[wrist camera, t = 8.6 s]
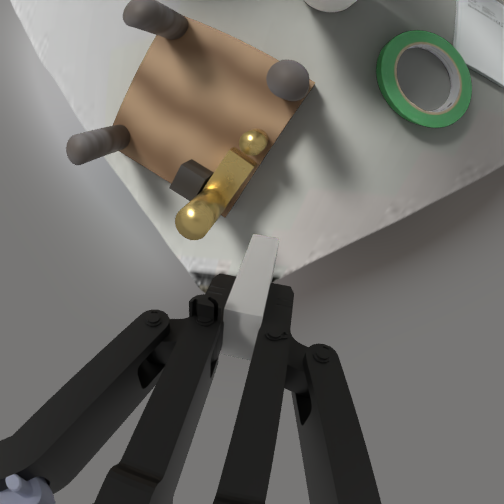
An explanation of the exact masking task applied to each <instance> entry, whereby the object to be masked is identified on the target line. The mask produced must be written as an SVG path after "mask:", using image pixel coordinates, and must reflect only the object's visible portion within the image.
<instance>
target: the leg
mask: <svg viewBox="0 0 504 504" xmlns="http://www.w3.org/2000/svg"><path fill="white" fill-rule="evenodd" d="M268 140H269V139H268V135H267V134H266V132H265V131H263V130H261V129H252V130H250V131H248V132H245V133H244V134H243V135H242V136H241V137H240V140H239V146H240V149H241V150H242V152H241V151H240V150H238V149H237V148H235V147H233V148H231V149H230V150H229V151H228V153H227V154H226V155H225V157H224V158H223V160H222V161H221V163H220V164H219V166H218V167H217V169H216V170H215V172H214V173H213V175H212V176H211V178H210V179H209V181H208V182H207V184H206V185H205V187H204V189H203V190H202V191H201V192H200V193H199V194H198V195H197V196H196V197H194V198H193V199H192V200H191V201H190V202H189V203H188V204H187V205H185V206H184V207H183V208H182V209H181V210H180V211H179V212H178V213H177V215H176V218H175V224H176V228H177V230H178V231H179V233H180V234H181V235H182V236H183V237H185V238H187V239H190V240H199V239H201V238H203V237H204V236H205V235H206V234H207V232H208V231H209V230H210V228H211V227H212V226H213V224H214V223H215V222H216V220H217V219H218V218H219V216H220V215H221V214H222V213H223V211H224V210H225V209H226V207H227V206H228V204H229V202H230V200H231V199H232V197H233V196H234V195H235V193H236V192H237V191H238V189H239V188H240V186H241V185H242V184H243V182H244V181H245V180H246V178H247V177H248V175H249V174H250V173H251V171H252V170H253V169H254V167H255V166H256V165H257V162H255V161H254V160H252V159H251V158H250V157H248V156H247V155H249V156H255V155H258V154H259V153H261V152H262V151H263V150H264V149H265V148H266V146H267V145H268ZM244 153H245V154H246V155H245V154H244Z"/></svg>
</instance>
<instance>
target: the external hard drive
mask: <svg viewBox="0 0 504 504" xmlns="http://www.w3.org/2000/svg"><path fill="white" fill-rule="evenodd" d="M453 47H454V48H455V49H456V50H457V51H458V52H459V53H460V55H461V56H462V58H463V59H464V61H465V63H466V65H467V67H468V68H470V69H472V70H474V71H475V72H477V73H479V74H481V75H483V76H484V77H486V78H488V79H489V80H491V81H493V82H494V83H496V84H497V85H499V86H500V87H504V5H502V4H501V3H499V2H498V1H496V0H456V16H455V29H454V39H453Z"/></svg>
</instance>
